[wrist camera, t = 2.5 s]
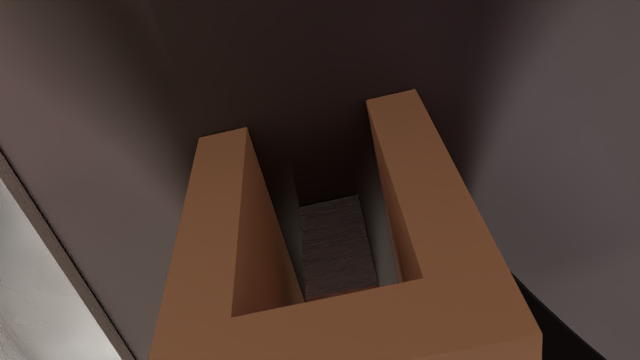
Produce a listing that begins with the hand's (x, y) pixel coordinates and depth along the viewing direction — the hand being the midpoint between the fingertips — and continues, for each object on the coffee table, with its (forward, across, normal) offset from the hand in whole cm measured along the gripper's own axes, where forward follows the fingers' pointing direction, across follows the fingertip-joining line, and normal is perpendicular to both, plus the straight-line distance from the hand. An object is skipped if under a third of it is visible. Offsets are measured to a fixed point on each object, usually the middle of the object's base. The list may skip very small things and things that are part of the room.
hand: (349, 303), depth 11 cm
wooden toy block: (+1, 0, 0) cm, 1 cm away
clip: (+1, 0, 0) cm, 1 cm away
